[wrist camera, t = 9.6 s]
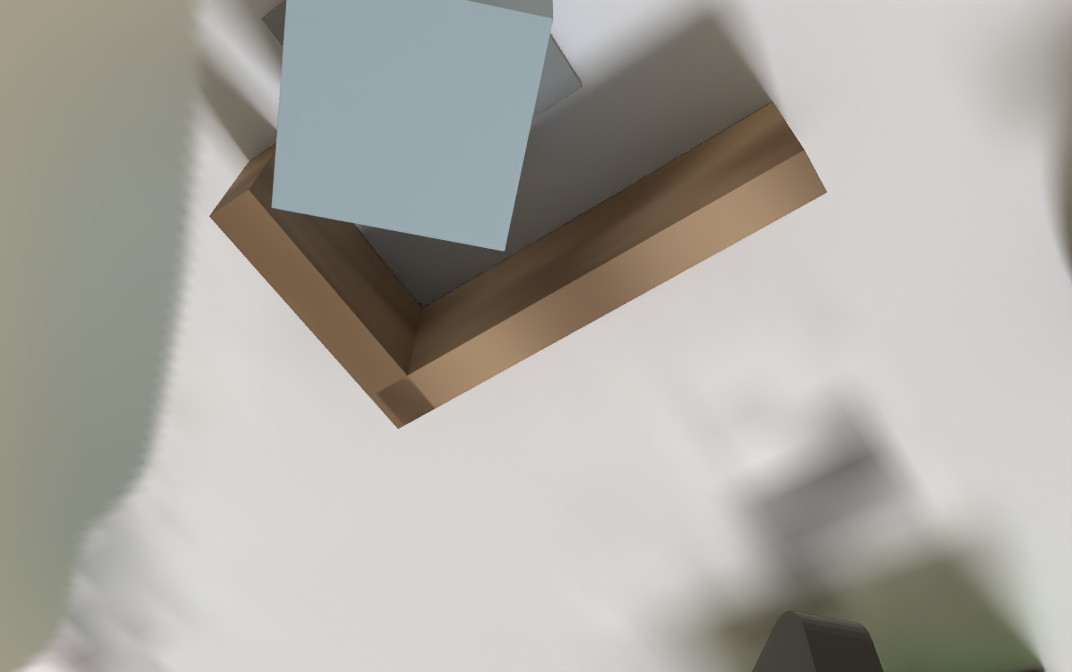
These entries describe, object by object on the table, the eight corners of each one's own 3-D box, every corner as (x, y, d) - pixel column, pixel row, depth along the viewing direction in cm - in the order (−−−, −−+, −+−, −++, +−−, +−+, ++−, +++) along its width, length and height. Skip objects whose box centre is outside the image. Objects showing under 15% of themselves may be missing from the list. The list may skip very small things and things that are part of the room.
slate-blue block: (551, -31, 23) (552, 18, 19) (511, 167, 25) (504, 251, 21) (338, -77, 22) (289, -38, 18) (318, 129, 25) (271, 208, 21)
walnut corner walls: (655, -117, 22) (672, -97, 19) (792, 140, 25) (827, 192, 22) (248, 162, 26) (209, 216, 23) (413, 358, 29) (397, 429, 26)
